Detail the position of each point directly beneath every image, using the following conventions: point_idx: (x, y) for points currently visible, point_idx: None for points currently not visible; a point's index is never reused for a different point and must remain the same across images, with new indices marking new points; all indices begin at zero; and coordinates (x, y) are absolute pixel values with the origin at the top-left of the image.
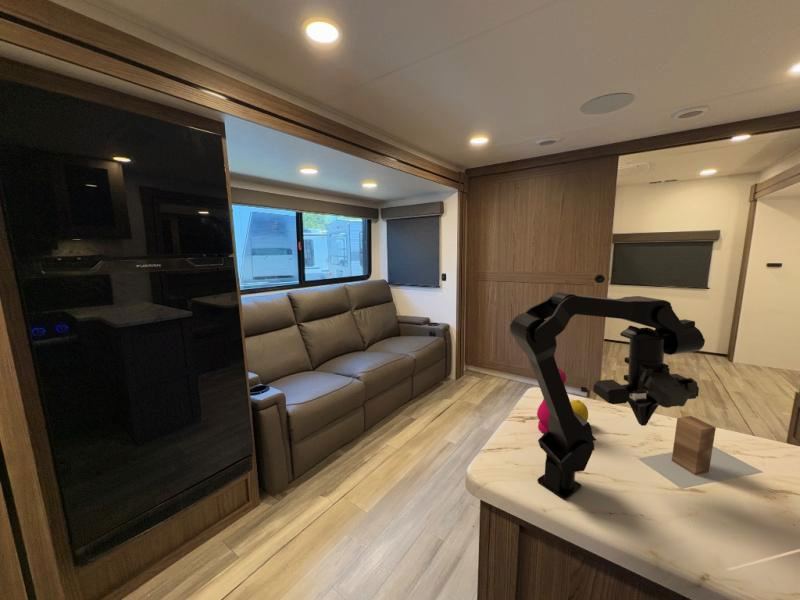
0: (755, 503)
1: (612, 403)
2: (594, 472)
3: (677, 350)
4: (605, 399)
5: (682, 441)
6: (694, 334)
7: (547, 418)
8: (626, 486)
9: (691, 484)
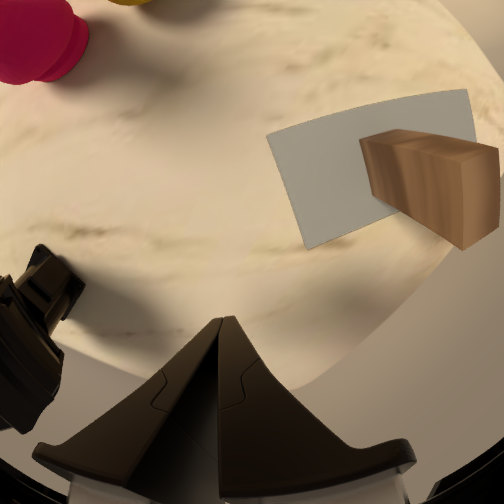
0: (408, 258)
1: (51, 492)
2: (117, 225)
3: None
4: (22, 478)
5: (408, 173)
6: None
7: (3, 82)
8: (179, 262)
9: (340, 232)
